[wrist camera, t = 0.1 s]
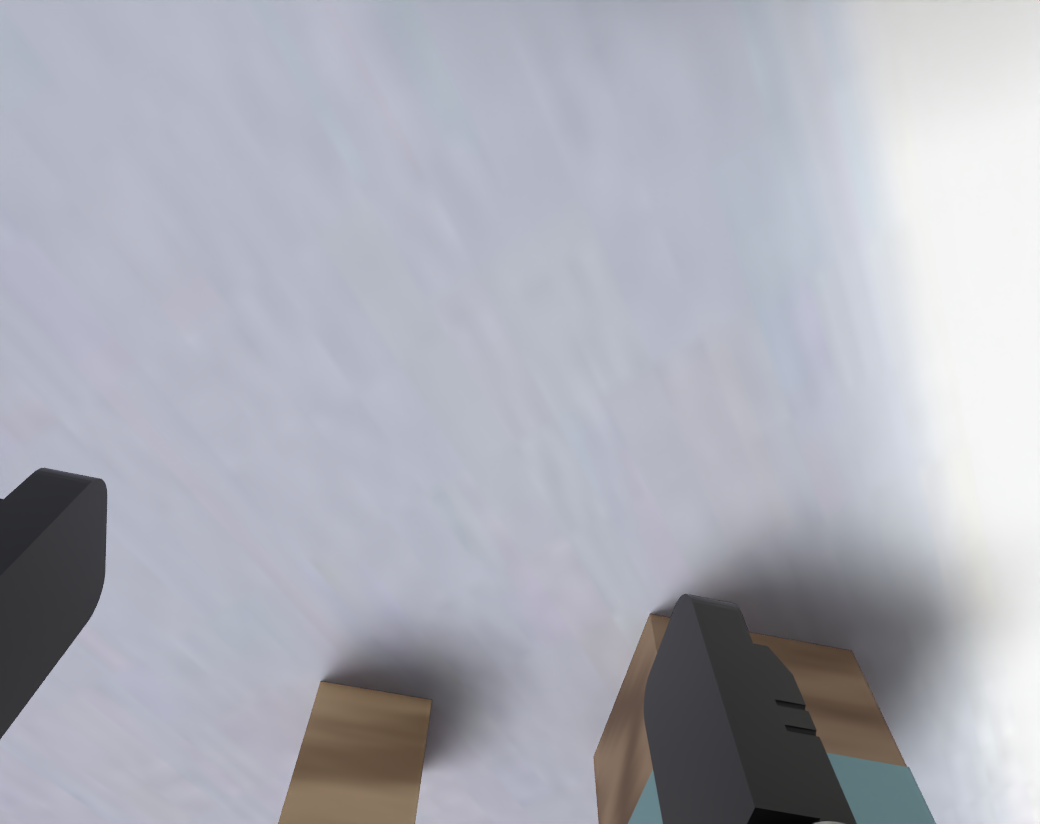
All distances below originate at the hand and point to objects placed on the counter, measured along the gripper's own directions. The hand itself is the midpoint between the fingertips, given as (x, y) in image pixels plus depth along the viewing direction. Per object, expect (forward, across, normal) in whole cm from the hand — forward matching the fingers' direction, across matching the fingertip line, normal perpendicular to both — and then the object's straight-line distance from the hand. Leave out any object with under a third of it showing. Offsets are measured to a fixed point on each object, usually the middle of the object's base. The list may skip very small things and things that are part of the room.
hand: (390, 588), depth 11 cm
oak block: (+19, 0, +22) cm, 29 cm away
